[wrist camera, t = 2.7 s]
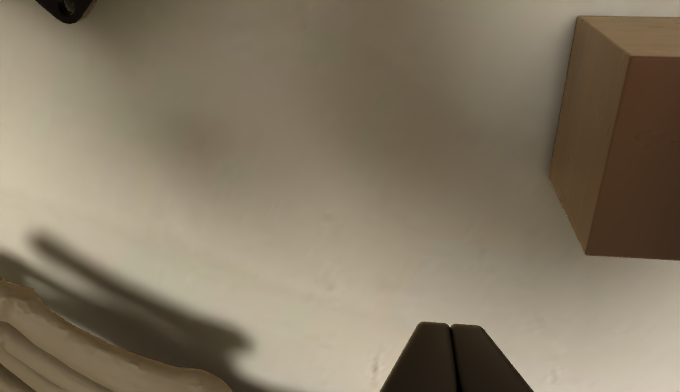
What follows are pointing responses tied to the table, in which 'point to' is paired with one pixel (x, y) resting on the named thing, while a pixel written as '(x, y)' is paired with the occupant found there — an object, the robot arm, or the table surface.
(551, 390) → the table surface
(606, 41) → the walnut block
